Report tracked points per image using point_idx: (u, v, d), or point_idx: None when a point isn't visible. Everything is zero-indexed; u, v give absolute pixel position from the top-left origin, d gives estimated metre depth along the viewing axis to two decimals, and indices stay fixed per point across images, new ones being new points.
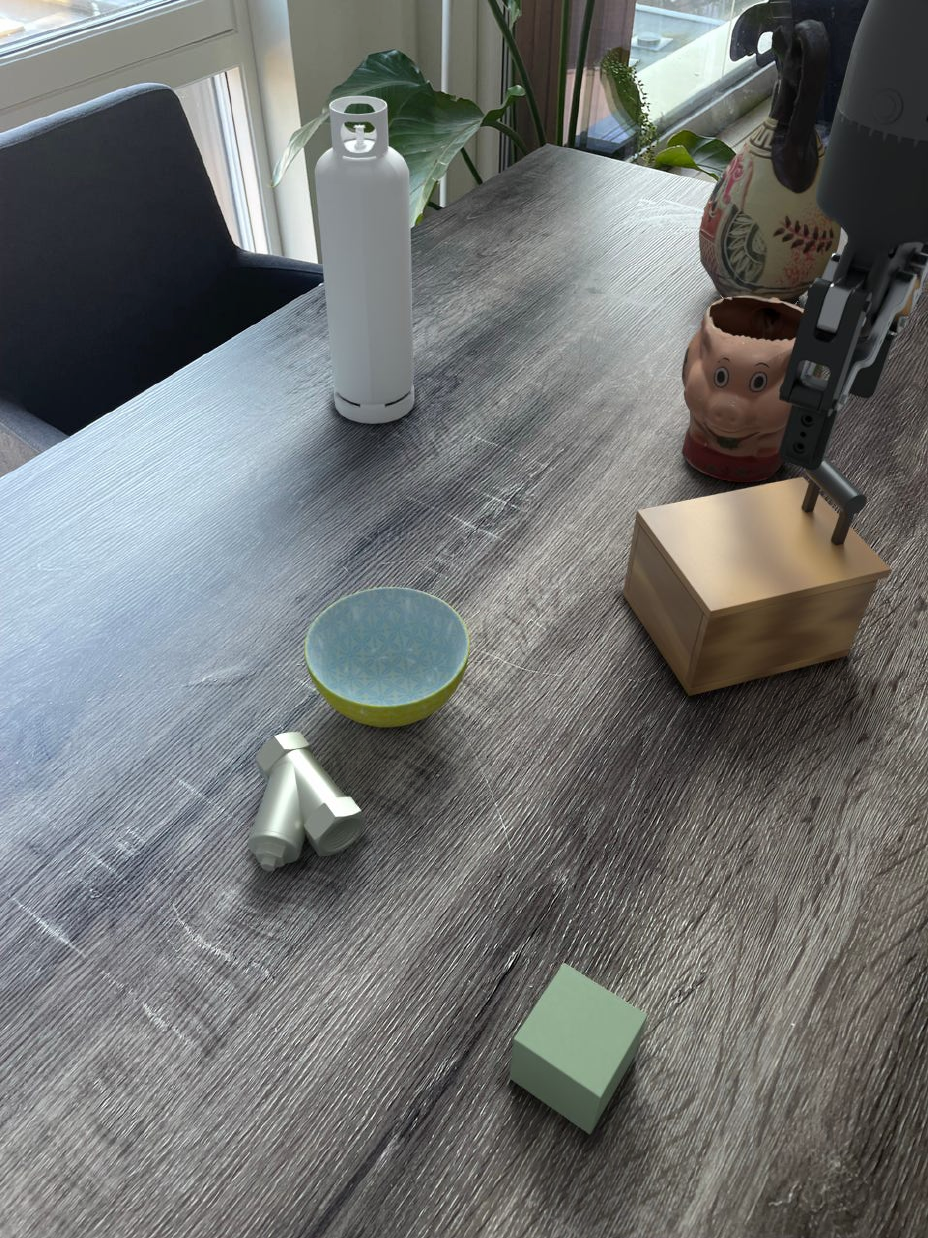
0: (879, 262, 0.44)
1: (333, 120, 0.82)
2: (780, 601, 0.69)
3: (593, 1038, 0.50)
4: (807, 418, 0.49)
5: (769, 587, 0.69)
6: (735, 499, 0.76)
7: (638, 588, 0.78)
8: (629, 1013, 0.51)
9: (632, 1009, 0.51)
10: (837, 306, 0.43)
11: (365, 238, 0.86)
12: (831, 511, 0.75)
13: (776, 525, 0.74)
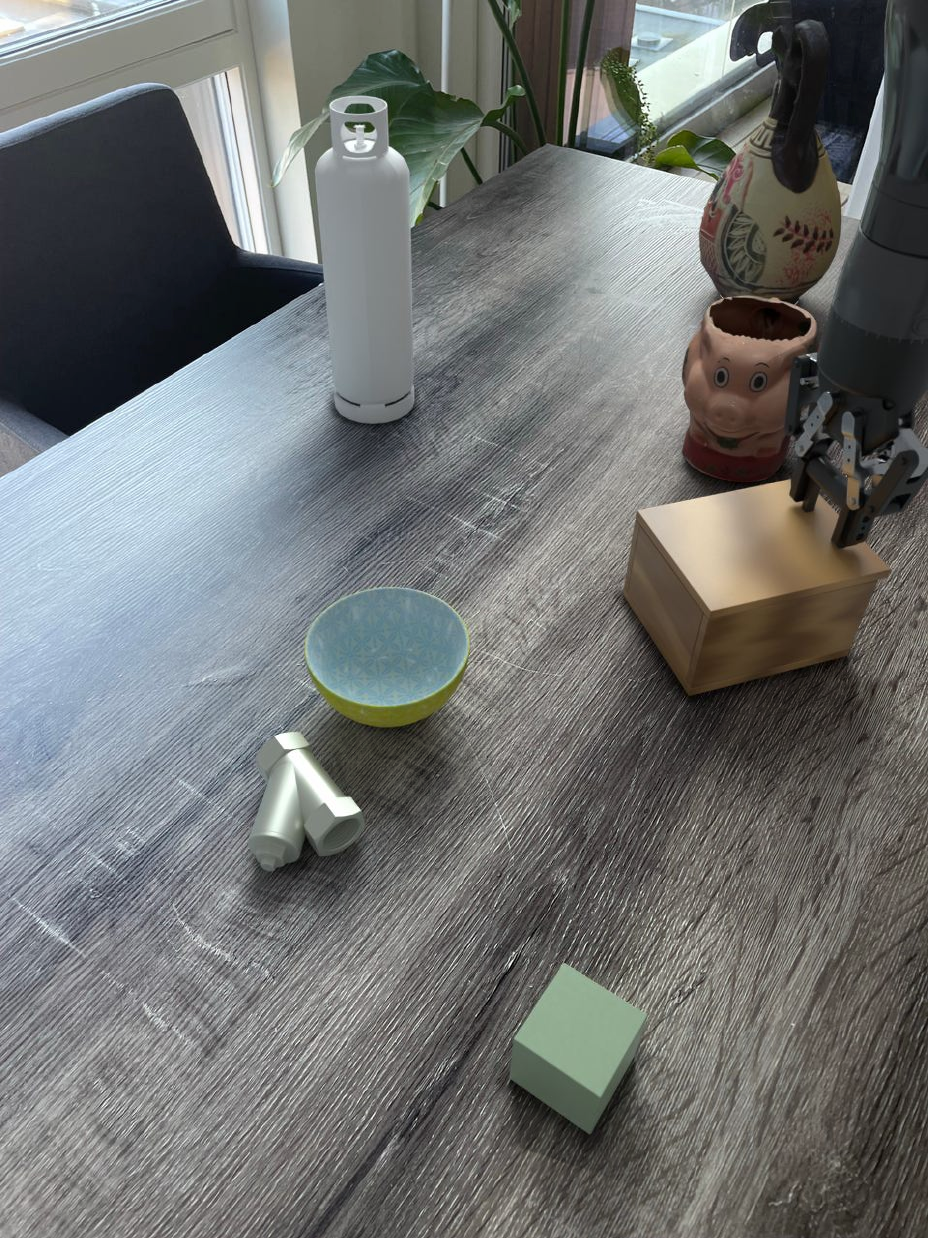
0: (913, 410, 0.63)
1: (333, 120, 0.82)
2: (780, 601, 0.69)
3: (593, 1038, 0.50)
4: None
5: (769, 587, 0.69)
6: (735, 499, 0.76)
7: (638, 588, 0.78)
8: (629, 1013, 0.51)
9: (632, 1009, 0.51)
10: (924, 465, 0.63)
11: (365, 238, 0.86)
12: (831, 511, 0.75)
13: (776, 525, 0.74)
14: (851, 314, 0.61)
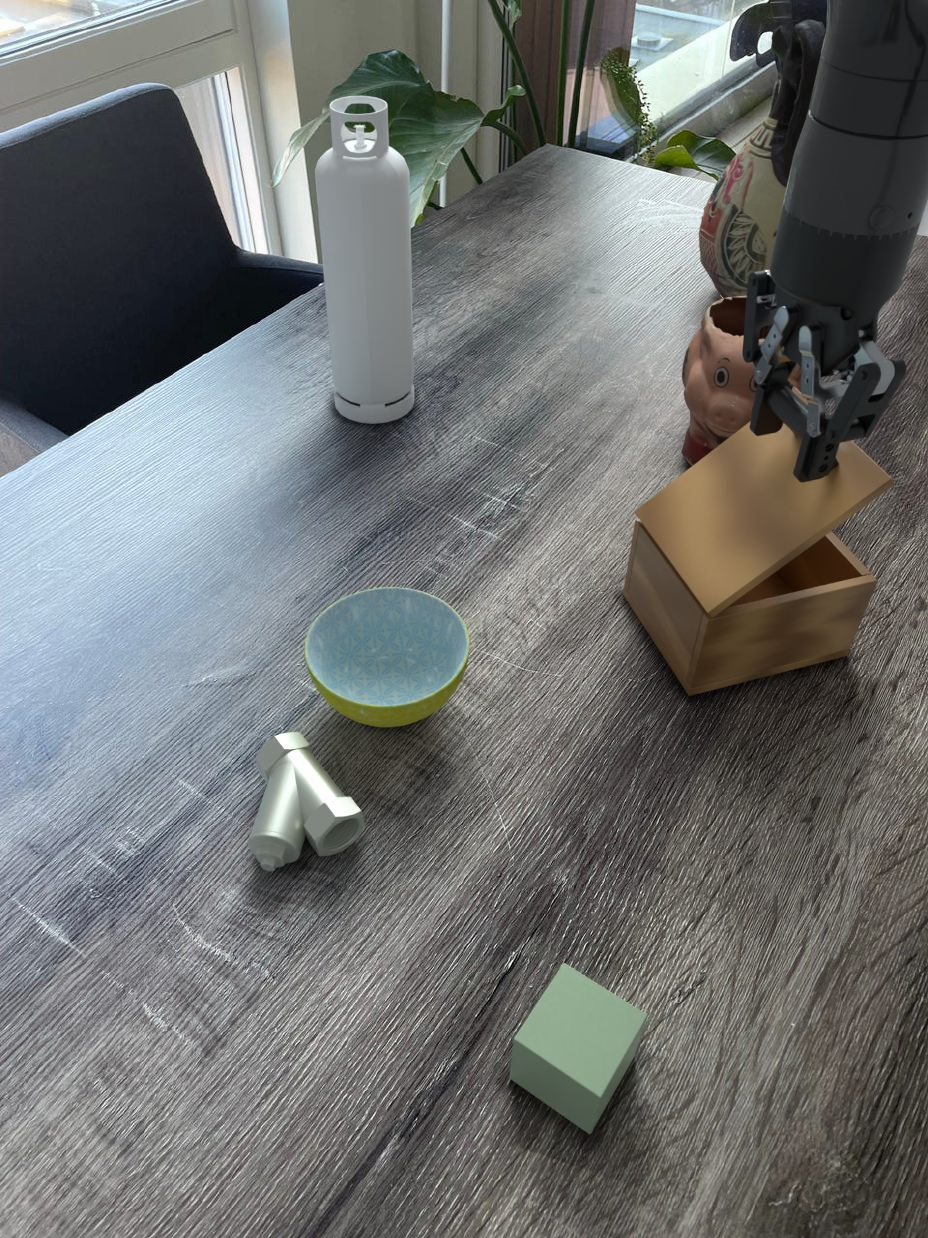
0: (875, 320, 0.57)
1: (333, 120, 0.82)
2: (779, 567, 0.66)
3: (593, 1038, 0.50)
4: None
5: (762, 558, 0.67)
6: (726, 453, 0.73)
7: (638, 588, 0.78)
8: (629, 1013, 0.51)
9: (632, 1009, 0.51)
10: (887, 379, 0.57)
11: (365, 238, 0.86)
12: None
13: (768, 470, 0.70)
14: (802, 210, 0.55)
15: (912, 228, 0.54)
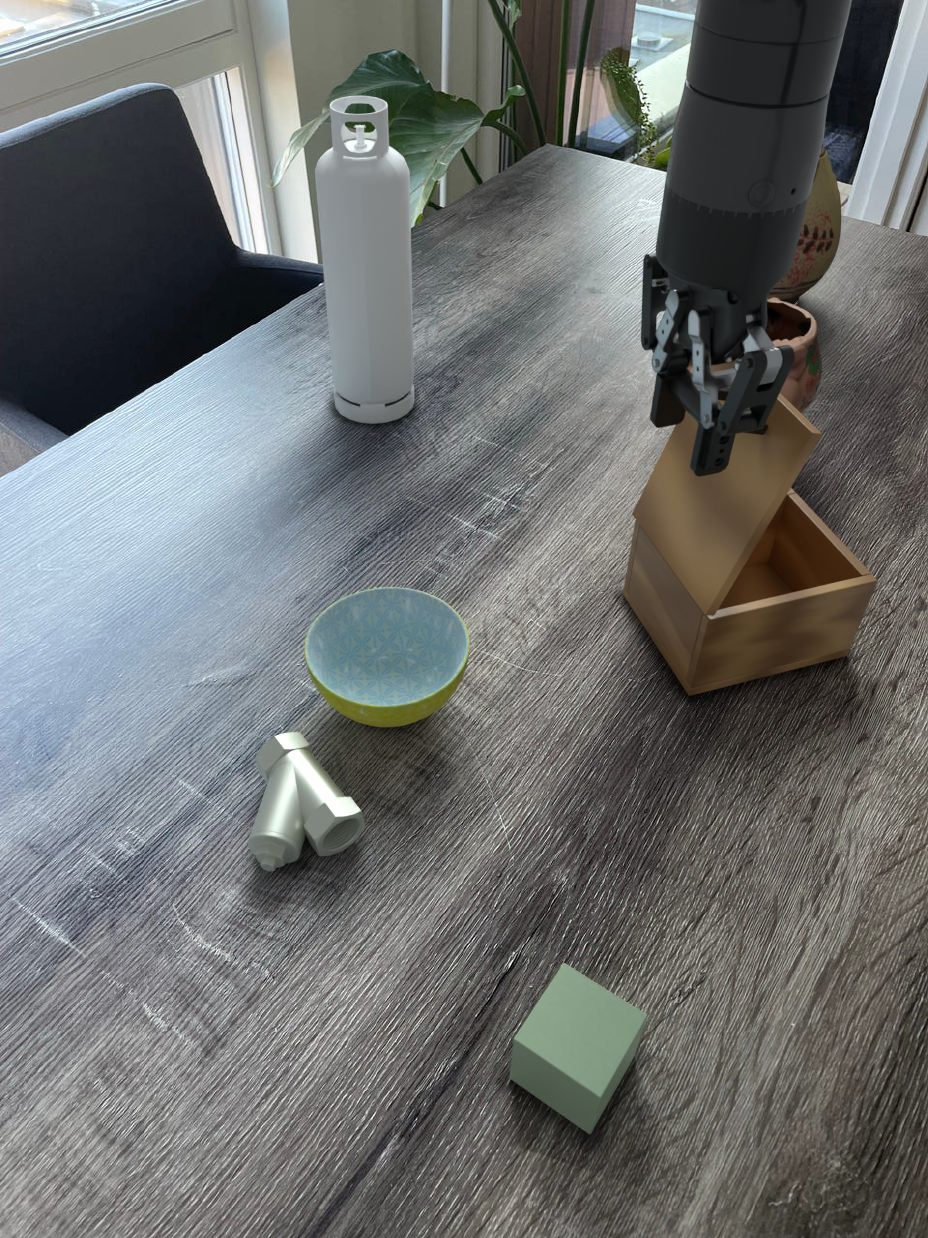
0: (764, 305, 0.54)
1: (333, 120, 0.82)
2: (750, 551, 0.64)
3: (593, 1038, 0.50)
4: None
5: (732, 548, 0.65)
6: (682, 432, 0.70)
7: (638, 588, 0.78)
8: (629, 1013, 0.51)
9: (632, 1009, 0.51)
10: (775, 368, 0.53)
11: (365, 238, 0.86)
12: None
13: None
14: (681, 185, 0.51)
15: (797, 205, 0.51)
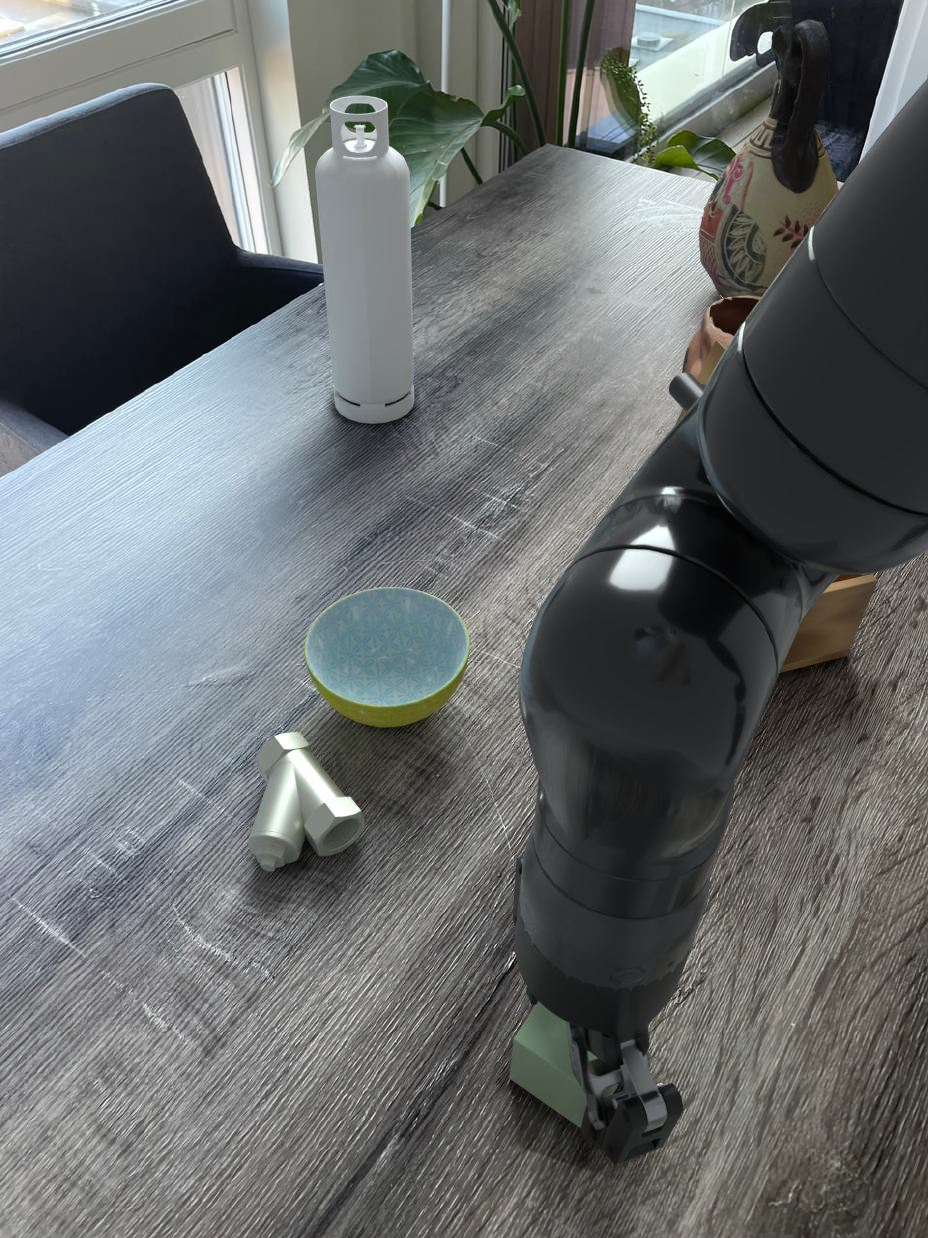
0: (644, 1033, 0.43)
1: (333, 120, 0.82)
2: None
3: None
4: None
5: None
6: None
7: None
8: None
9: None
10: (660, 1120, 0.42)
11: (365, 238, 0.86)
12: None
13: None
14: (532, 933, 0.40)
15: (678, 964, 0.40)
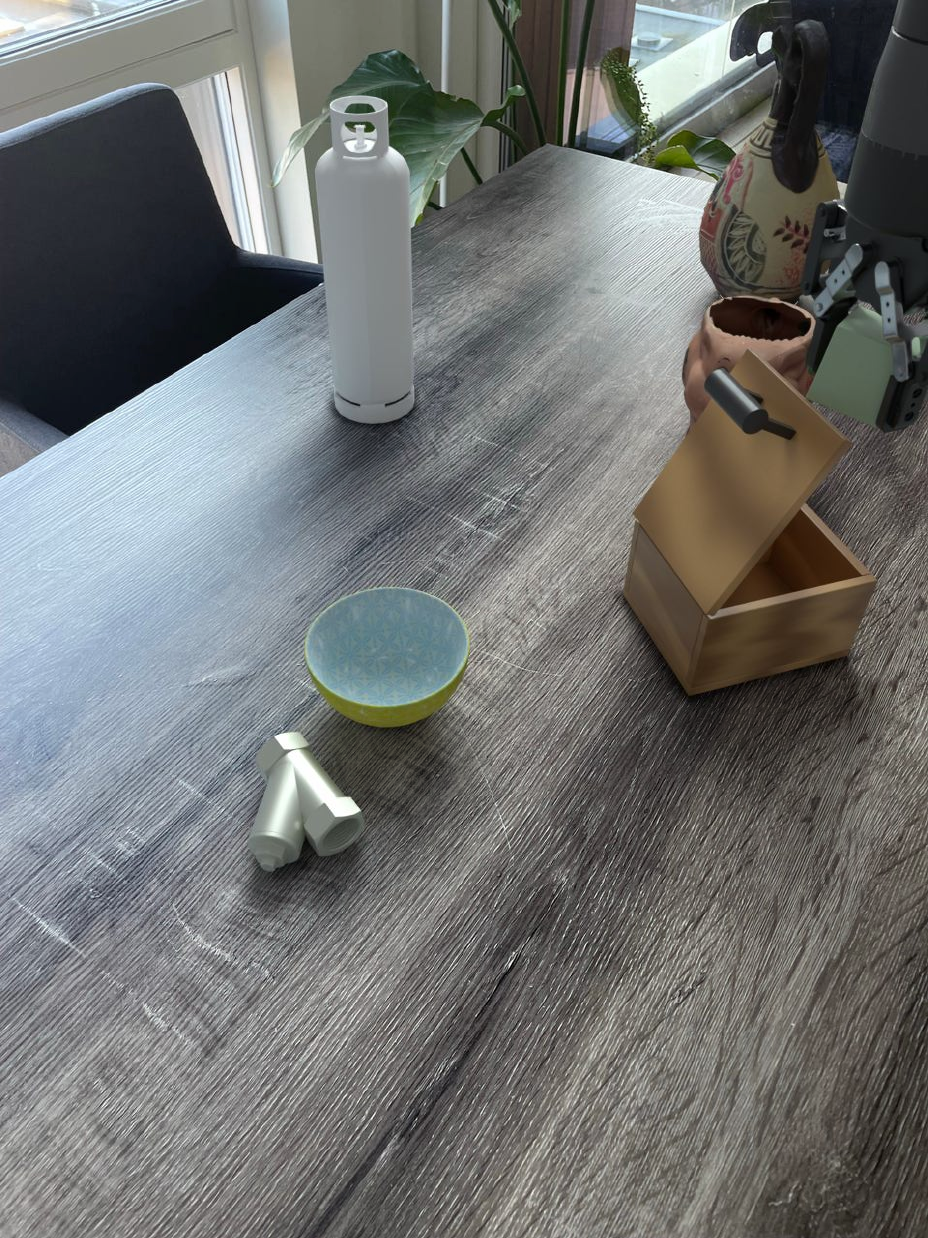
0: None
1: (333, 120, 0.82)
2: (762, 554, 0.65)
3: None
4: None
5: (743, 549, 0.65)
6: (699, 435, 0.71)
7: (638, 588, 0.78)
8: None
9: None
10: None
11: (365, 238, 0.86)
12: (779, 385, 0.65)
13: (736, 448, 0.67)
14: (884, 134, 0.52)
15: None
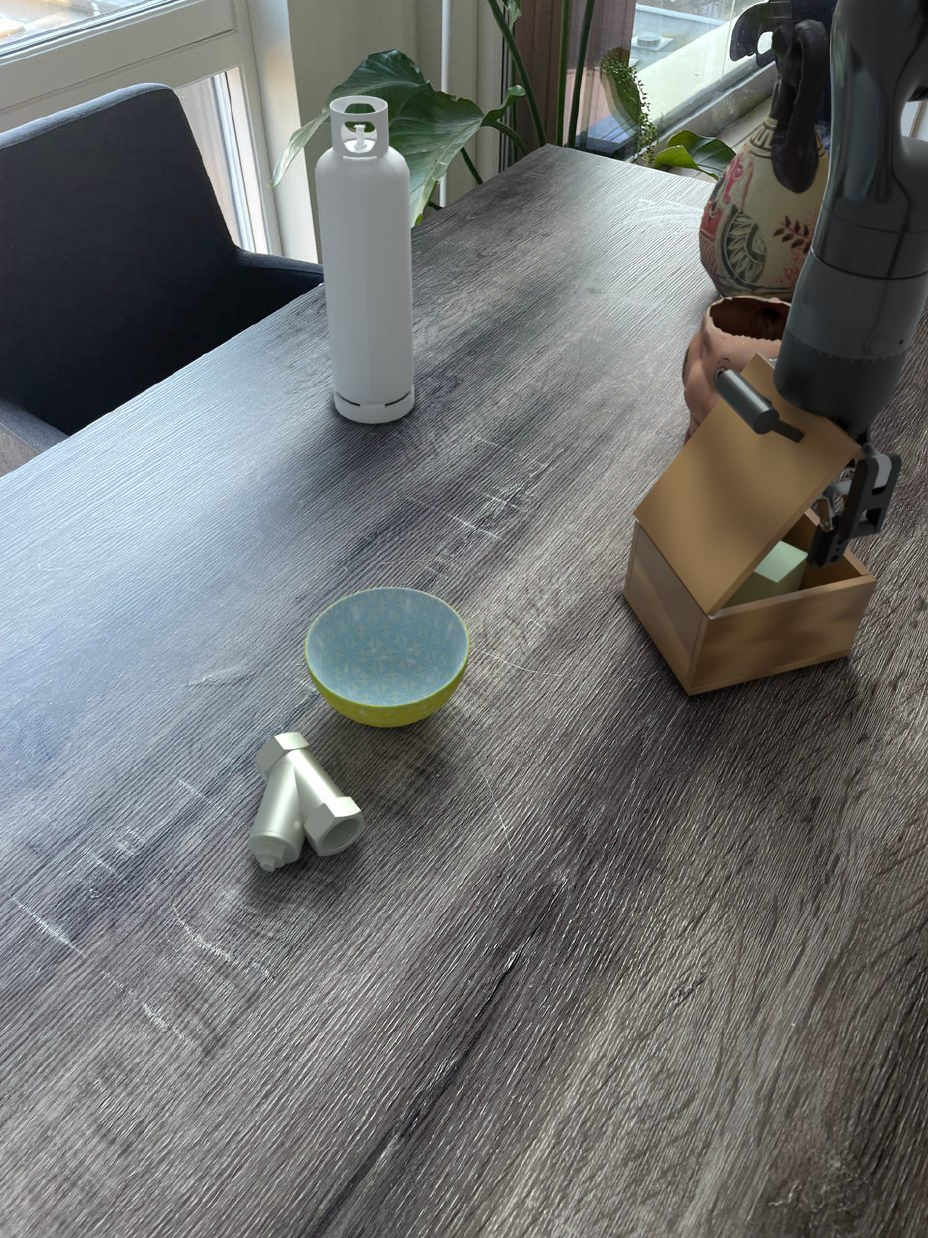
0: (869, 429, 0.63)
1: (333, 120, 0.82)
2: (765, 555, 0.65)
3: (772, 559, 0.75)
4: None
5: (747, 549, 0.66)
6: (704, 437, 0.71)
7: (638, 588, 0.78)
8: (797, 552, 0.76)
9: (799, 550, 0.76)
10: (886, 471, 0.62)
11: (365, 238, 0.86)
12: None
13: (742, 450, 0.68)
14: (804, 334, 0.60)
15: (903, 352, 0.60)
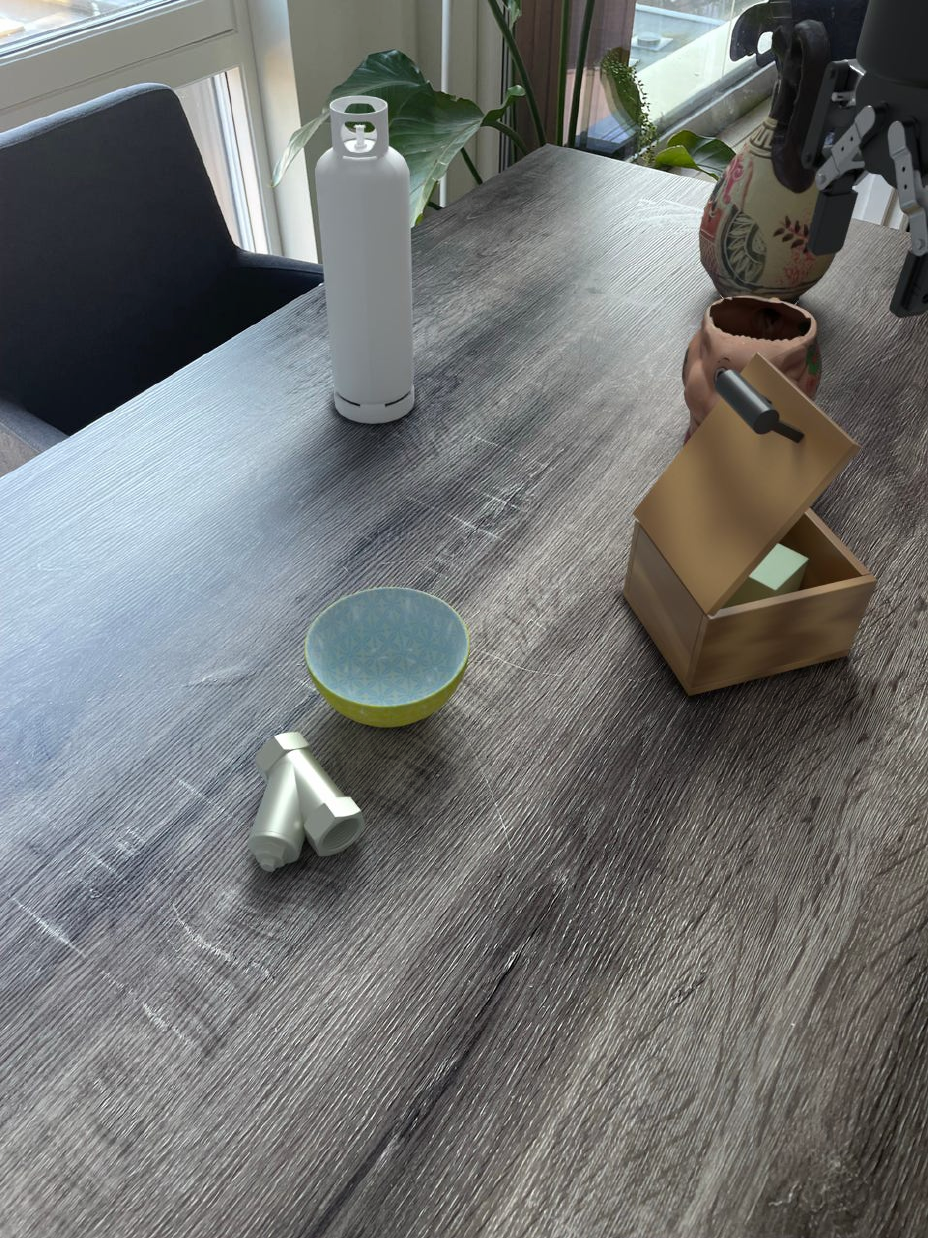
0: None
1: (333, 120, 0.82)
2: (765, 555, 0.65)
3: (771, 564, 0.75)
4: None
5: (747, 549, 0.66)
6: (704, 437, 0.71)
7: (638, 588, 0.78)
8: (796, 556, 0.76)
9: (798, 554, 0.76)
10: None
11: (365, 238, 0.86)
12: (788, 389, 0.66)
13: (742, 450, 0.68)
14: None
15: None
